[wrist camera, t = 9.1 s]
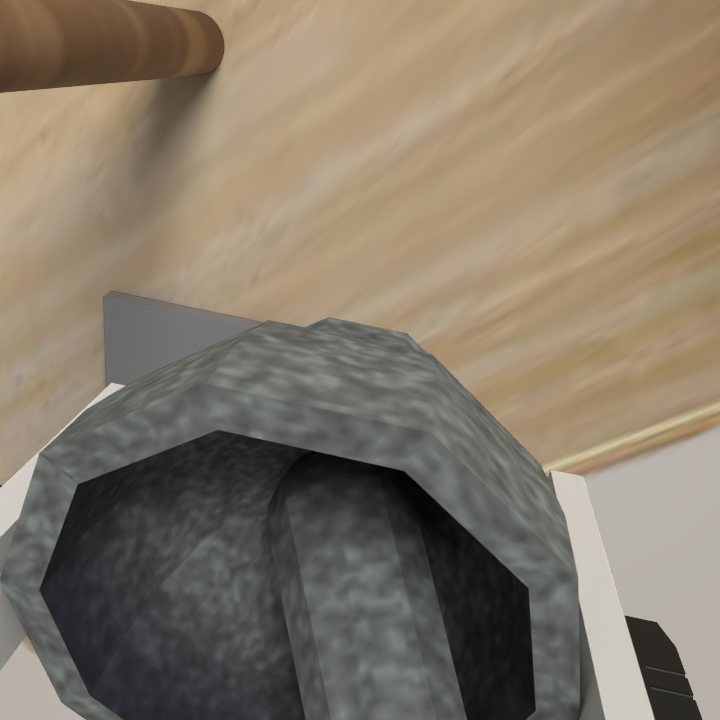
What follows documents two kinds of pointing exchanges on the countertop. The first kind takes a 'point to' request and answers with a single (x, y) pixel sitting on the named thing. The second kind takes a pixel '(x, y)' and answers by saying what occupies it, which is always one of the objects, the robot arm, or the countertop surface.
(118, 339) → the slate pad
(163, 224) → the countertop surface
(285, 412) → the mortar and pestle
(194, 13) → the post
